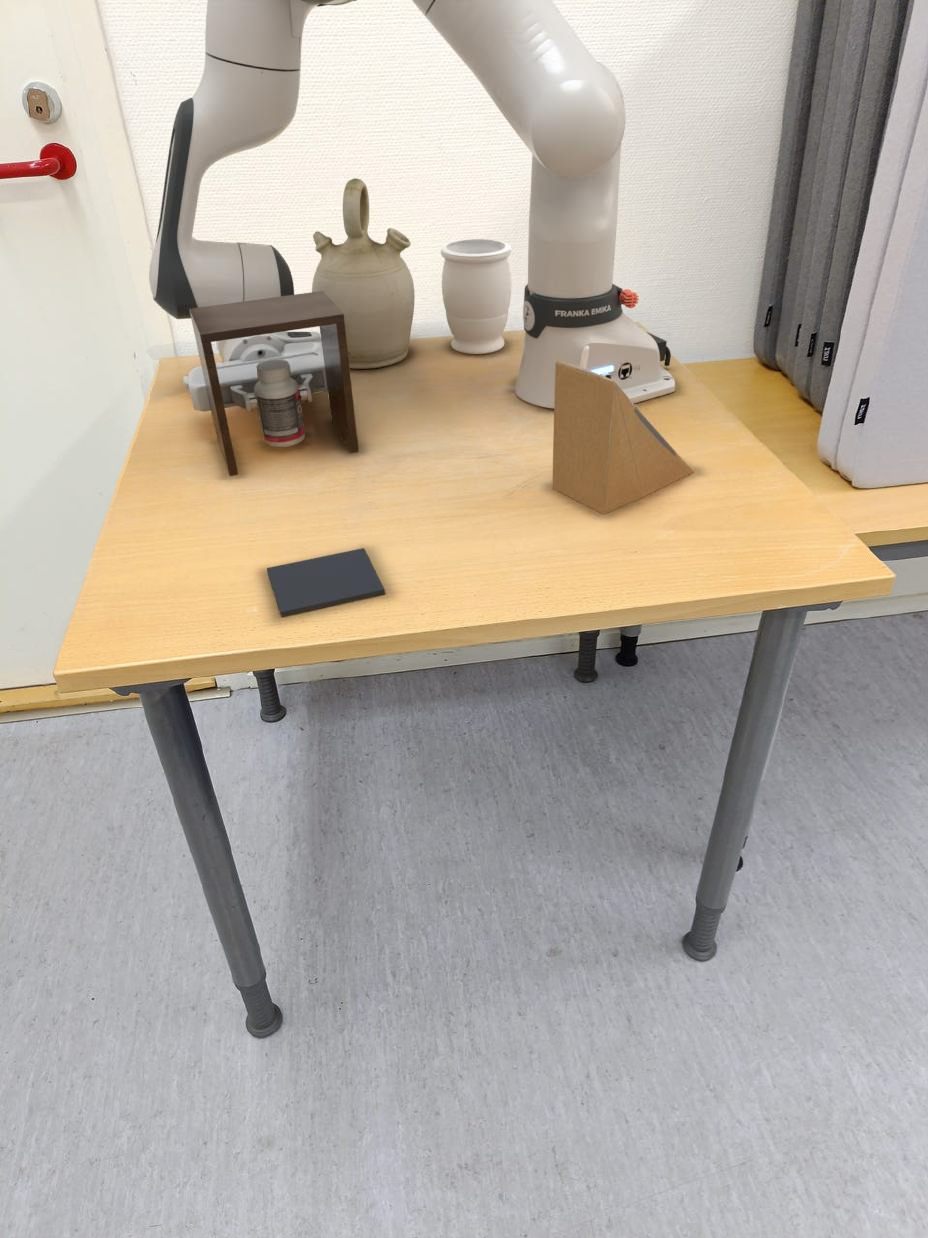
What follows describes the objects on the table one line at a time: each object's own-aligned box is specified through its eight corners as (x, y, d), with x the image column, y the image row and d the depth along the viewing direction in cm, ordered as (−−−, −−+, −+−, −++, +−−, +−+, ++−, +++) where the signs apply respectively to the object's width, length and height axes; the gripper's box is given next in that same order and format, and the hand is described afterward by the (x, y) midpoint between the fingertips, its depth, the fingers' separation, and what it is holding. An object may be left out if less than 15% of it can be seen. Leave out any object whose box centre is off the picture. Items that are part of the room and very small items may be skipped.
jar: (520, 339, 139) (521, 240, 130) (495, 361, 131) (494, 257, 122) (461, 332, 143) (458, 235, 134) (433, 352, 135) (428, 251, 126)
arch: (217, 442, 111) (189, 308, 101) (339, 421, 115) (323, 290, 105) (229, 476, 103) (199, 334, 93) (358, 451, 108) (343, 313, 97)
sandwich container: (697, 472, 101) (716, 344, 92) (605, 515, 93) (615, 381, 84) (641, 448, 106) (654, 325, 97) (550, 487, 99) (555, 358, 90)
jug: (434, 344, 138) (426, 171, 123) (389, 379, 127) (373, 192, 112) (351, 334, 143) (334, 166, 128) (300, 366, 132) (275, 186, 117)
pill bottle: (312, 441, 110) (302, 366, 104) (273, 452, 108) (260, 376, 102) (295, 426, 113) (283, 353, 108) (256, 437, 111) (243, 363, 105)
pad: (364, 552, 89) (364, 547, 88) (385, 594, 83) (384, 589, 82) (267, 572, 86) (266, 567, 86) (281, 617, 80) (280, 611, 80)
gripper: (175, 352, 112) (188, 390, 102) (329, 329, 118) (355, 362, 107) (186, 398, 116) (199, 439, 106) (334, 374, 122) (360, 410, 111)
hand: (279, 400), depth 107 cm, fingers closed on pill bottle, 5 cm apart
